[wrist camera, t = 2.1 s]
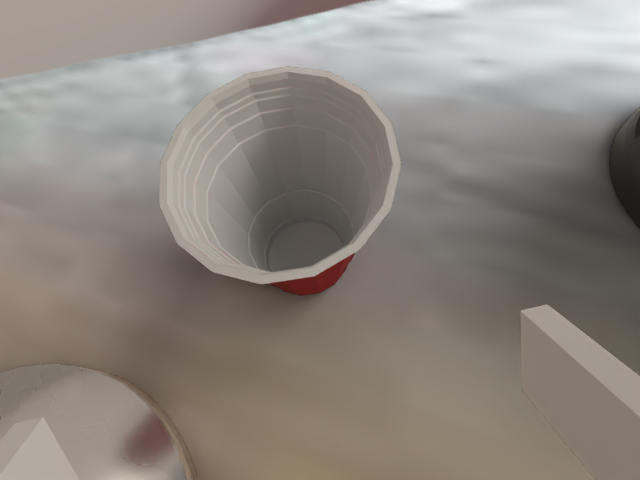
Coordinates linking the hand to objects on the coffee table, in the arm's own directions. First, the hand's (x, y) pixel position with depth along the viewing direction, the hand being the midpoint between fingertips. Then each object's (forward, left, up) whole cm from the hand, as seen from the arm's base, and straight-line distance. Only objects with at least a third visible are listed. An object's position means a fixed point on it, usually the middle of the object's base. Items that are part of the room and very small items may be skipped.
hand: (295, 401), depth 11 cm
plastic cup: (-1, -10, -14) cm, 17 cm away
